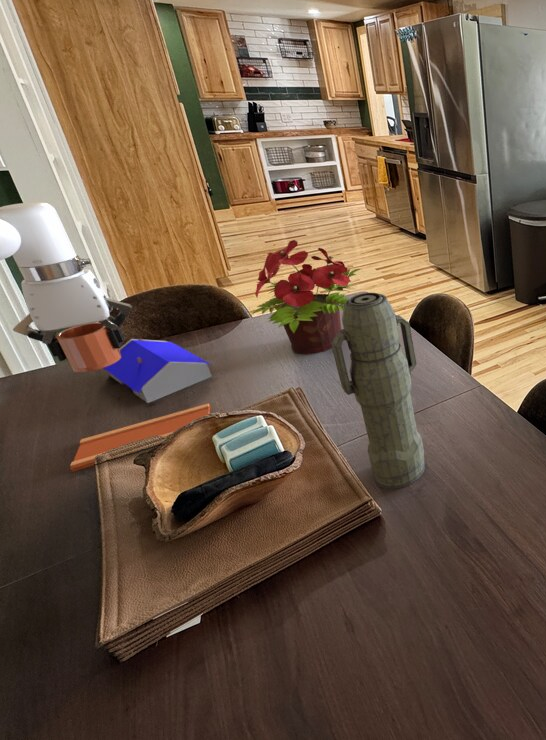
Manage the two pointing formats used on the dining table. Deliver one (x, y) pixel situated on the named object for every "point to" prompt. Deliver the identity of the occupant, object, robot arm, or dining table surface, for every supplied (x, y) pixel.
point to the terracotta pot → (88, 347)
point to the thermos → (382, 386)
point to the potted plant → (306, 299)
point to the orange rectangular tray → (133, 435)
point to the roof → (157, 368)
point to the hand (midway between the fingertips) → (92, 351)
